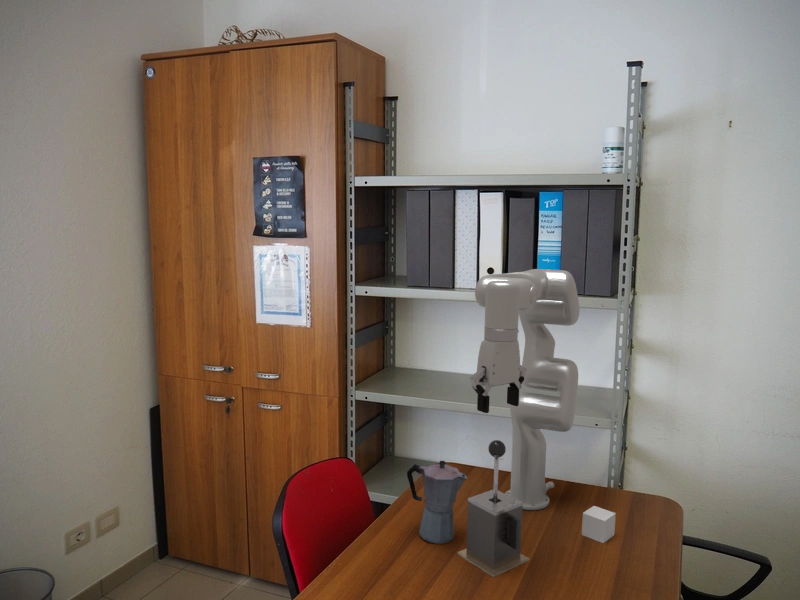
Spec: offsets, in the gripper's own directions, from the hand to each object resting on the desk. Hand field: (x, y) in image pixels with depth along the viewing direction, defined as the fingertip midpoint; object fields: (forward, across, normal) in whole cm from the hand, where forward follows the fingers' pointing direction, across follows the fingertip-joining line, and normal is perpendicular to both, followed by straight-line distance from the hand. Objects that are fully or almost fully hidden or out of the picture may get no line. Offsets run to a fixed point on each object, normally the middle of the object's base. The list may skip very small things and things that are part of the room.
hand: (498, 408), depth 144 cm
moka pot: (+37, +4, -16) cm, 41 cm away
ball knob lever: (+25, 0, 0) cm, 25 cm away
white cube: (+37, -30, +8) cm, 49 cm away
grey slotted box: (+37, 0, 0) cm, 37 cm away
